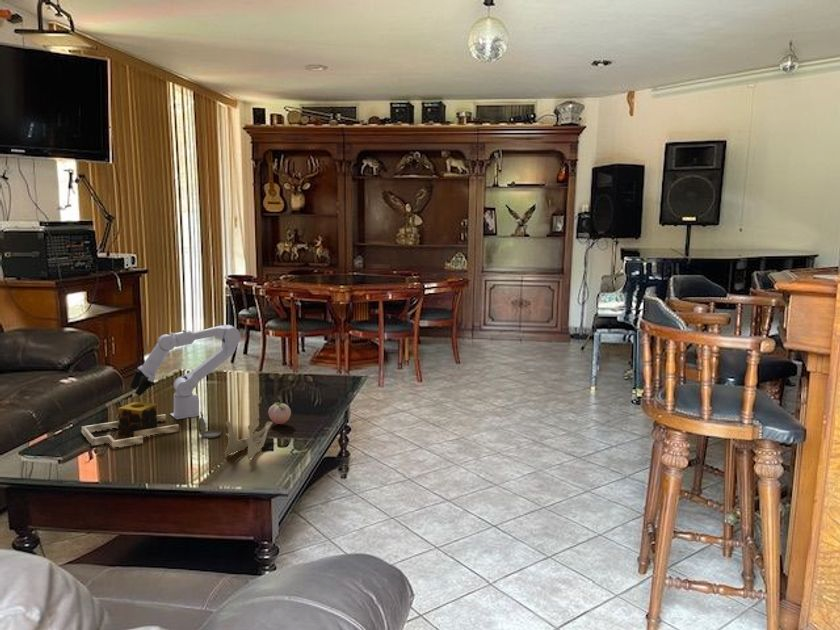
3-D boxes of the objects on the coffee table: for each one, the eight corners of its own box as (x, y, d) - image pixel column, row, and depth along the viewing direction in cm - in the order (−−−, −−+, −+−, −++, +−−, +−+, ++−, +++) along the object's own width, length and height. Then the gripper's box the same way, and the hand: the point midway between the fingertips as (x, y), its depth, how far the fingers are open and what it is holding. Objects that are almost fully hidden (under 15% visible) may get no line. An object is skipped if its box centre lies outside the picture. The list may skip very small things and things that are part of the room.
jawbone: (250, 462, 206) (248, 422, 205) (224, 461, 208) (222, 421, 207) (283, 441, 230) (281, 405, 229) (260, 440, 233) (258, 404, 232)
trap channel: (159, 415, 250) (159, 410, 249) (184, 436, 228) (184, 429, 228) (77, 428, 230) (77, 421, 230) (96, 451, 209) (96, 444, 208)
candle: (141, 437, 225) (141, 410, 224) (117, 433, 227) (116, 408, 225) (158, 428, 235) (158, 403, 233) (135, 425, 237) (134, 400, 235)
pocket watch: (223, 434, 232) (224, 409, 231) (209, 441, 224) (209, 415, 223) (206, 431, 235) (206, 406, 233) (191, 437, 227) (191, 411, 225)
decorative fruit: (295, 425, 247) (295, 402, 245) (277, 429, 241) (278, 405, 239) (281, 420, 253) (282, 397, 252) (264, 424, 247) (265, 400, 246)
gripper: (139, 352, 246) (121, 381, 244) (150, 363, 235) (130, 393, 233) (155, 359, 250) (137, 388, 248) (166, 370, 240) (147, 400, 238)
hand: (135, 391), depth 241 cm, fingers open, 7 cm apart
